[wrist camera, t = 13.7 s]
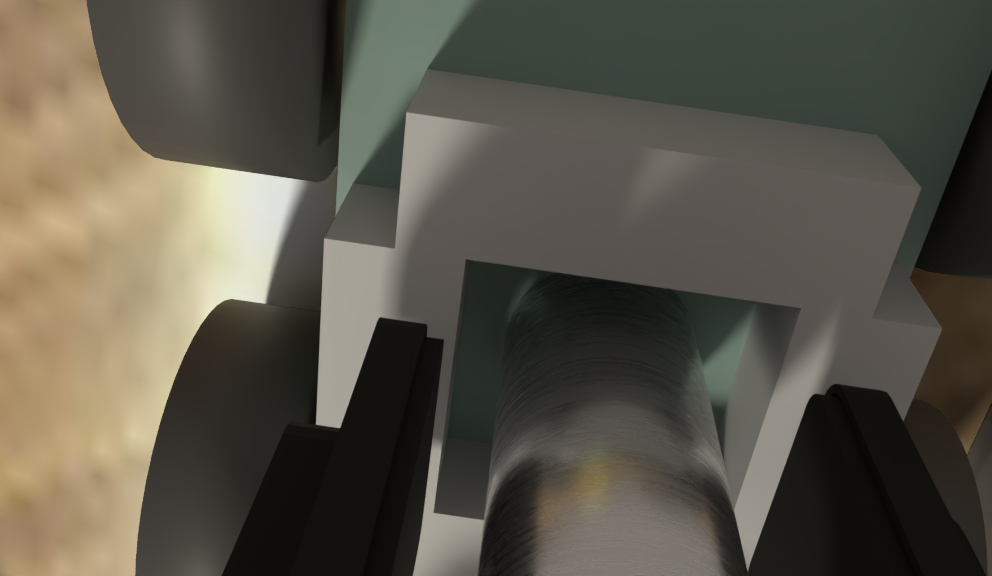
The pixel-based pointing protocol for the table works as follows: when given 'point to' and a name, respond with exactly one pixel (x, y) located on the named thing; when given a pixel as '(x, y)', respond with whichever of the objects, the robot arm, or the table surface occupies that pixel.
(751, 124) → the grey-green toy cart
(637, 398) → the pin
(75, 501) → the table surface
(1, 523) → the table surface
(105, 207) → the table surface
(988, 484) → the tray
